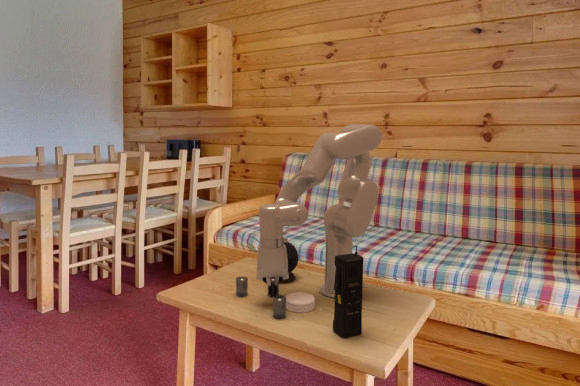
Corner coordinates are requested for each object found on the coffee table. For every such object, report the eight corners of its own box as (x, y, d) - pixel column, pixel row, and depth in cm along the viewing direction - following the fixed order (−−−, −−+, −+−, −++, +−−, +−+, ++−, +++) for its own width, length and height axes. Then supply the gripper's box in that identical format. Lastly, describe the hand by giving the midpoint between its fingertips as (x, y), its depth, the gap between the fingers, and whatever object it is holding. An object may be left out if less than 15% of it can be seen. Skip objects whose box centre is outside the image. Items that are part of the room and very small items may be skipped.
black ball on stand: (284, 287, 165) (284, 247, 162) (257, 279, 173) (257, 241, 170) (304, 278, 175) (305, 240, 173) (278, 271, 183) (279, 235, 181)
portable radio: (340, 340, 125) (343, 252, 121) (328, 331, 130) (331, 247, 126) (363, 334, 128) (367, 249, 124) (351, 326, 133) (354, 244, 130)
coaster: (291, 315, 141) (291, 304, 140) (280, 303, 150) (280, 293, 149) (320, 311, 145) (320, 300, 144) (307, 299, 154) (307, 290, 153)
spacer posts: (284, 292, 159) (284, 276, 158) (286, 319, 137) (286, 300, 136) (236, 292, 158) (236, 276, 158) (230, 319, 137) (230, 300, 136)
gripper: (294, 238, 149) (295, 291, 152) (249, 239, 148) (251, 292, 152) (295, 245, 142) (296, 299, 145) (247, 246, 141) (249, 301, 144)
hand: (273, 295), depth 148 cm, fingers closed
